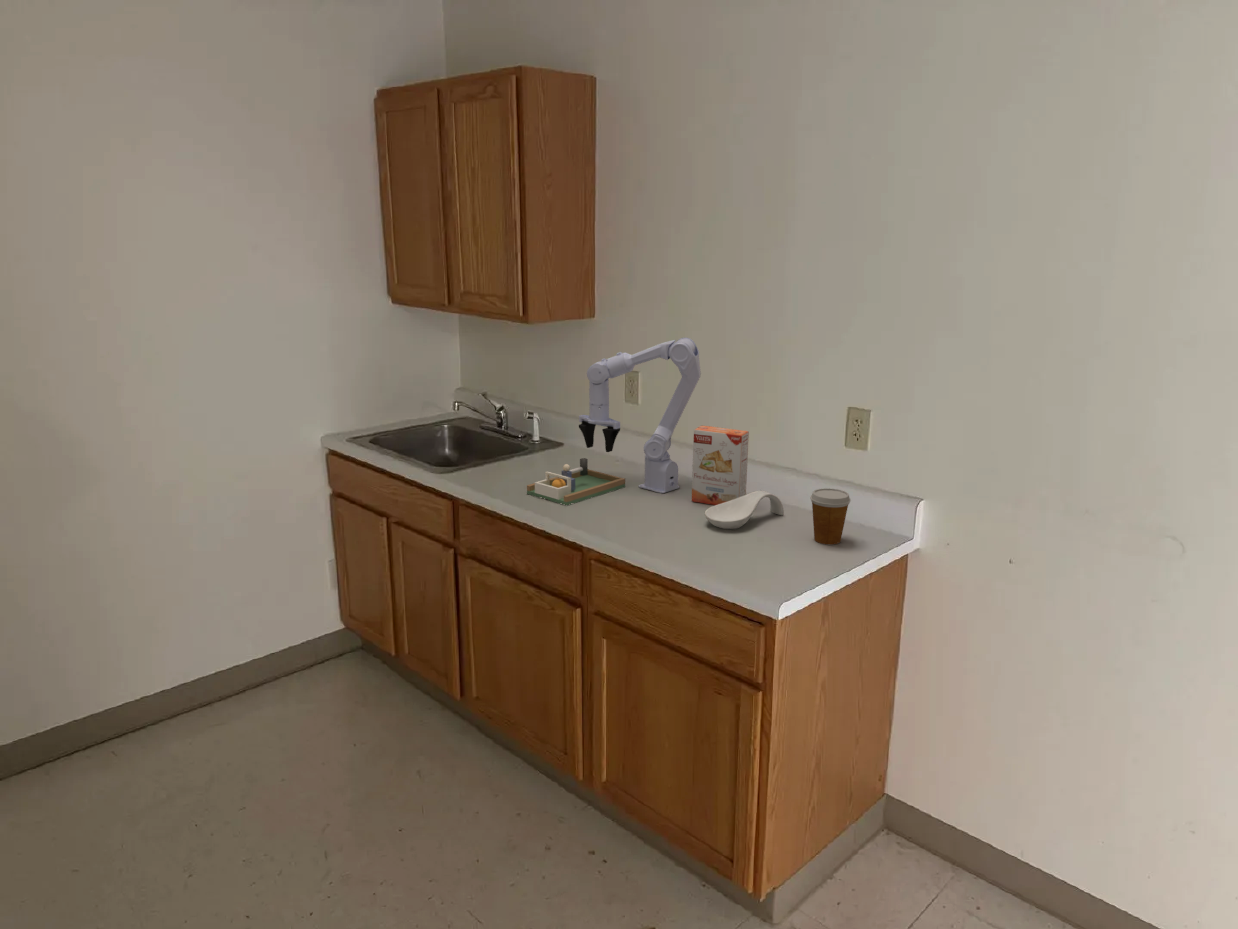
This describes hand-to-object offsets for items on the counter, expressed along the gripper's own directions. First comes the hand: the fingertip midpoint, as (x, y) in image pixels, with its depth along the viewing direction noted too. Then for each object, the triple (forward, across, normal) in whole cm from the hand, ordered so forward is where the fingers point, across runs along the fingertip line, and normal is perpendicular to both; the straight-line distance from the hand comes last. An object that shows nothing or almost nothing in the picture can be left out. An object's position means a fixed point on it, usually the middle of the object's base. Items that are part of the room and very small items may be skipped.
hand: (599, 449), depth 262 cm
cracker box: (+11, +37, +8) cm, 40 cm away
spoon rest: (+11, +51, 0) cm, 52 cm away
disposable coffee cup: (+11, +74, +1) cm, 75 cm away
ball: (+7, 0, -17) cm, 19 cm away
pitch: (+10, 0, -10) cm, 14 cm away
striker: (+9, 0, -10) cm, 14 cm away
